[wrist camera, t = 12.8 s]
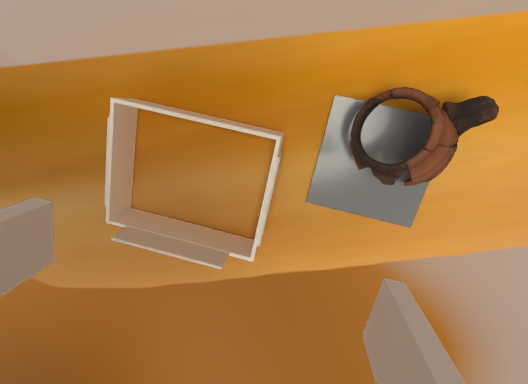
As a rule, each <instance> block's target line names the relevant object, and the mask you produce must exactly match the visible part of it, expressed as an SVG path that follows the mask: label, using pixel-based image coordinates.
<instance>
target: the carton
mask: <svg viewBox="0 0 528 384" xmlns="http://www.w3.org/2000/svg"><path fill="white" fill-rule="evenodd" d="M138 108H140V109H145V110H149V111H153V112H158V113H162V114H166V115H171V116H175V117H179V118H184V119H188V120H192V121H197V122H201V123H205V124H210V125H214V126H218V127H223V128H227V129H231V130H236V131H240V132H244V133H249V134H253V135H257V136H262V137H266V138H270V139H275V140H276V144H275V149H274V153H273V158H272V162H271V167H270V172H269V176H268V181H267V185H266V190H265V194H264V199H263V203H262V208H261V212H260V217H259V221H258V226H257V230H256V235H255V239H250V238H246V237H243V236H239V235H235V234H231V233H227V232H223V231H219V230H215V229H212V228H208V227H204V226H200V225H196V224H192V223H188V222H185V221H181V220H177V219H173V218H169V217H165V216H161V215H158V214H154V213H150V212H146V211H142V210H138V209H134V208H131V204H132V189H133V175H134V160H135V146H136V131H137V117H138ZM284 134H285V133H283V132H279V131H275V130H270V129H266V128H262V127H257V126H253V125H248V124H244V123H240V122H235V121H231V120H227V119H222V118H218V117H213V116H209V115H205V114H200V113H196V112H192V111H187V110H183V109H178V108H174V107H170V106H165V105H161V104H157V103H152V102H148V101H143V100H139V99H132V98H111V97H110V117H108V120H107V147H106V174H105V201H104V206H106V223H108V224H112V225H116V226H120V227H123V228H125V229H123V230H122V231H120V232H119V233H117V234H116V235H114V236H113V237H111V240H113V241H117V242H121V243H124V244H128V245H132V246H136V247H139V248H143V249H147V250H150V251H154V252H158V253H162V254H165V255H169V256H173V257H176V258H180V259H184V260H188V261H191V262H195V263H199V264H202V265H206V266H210V267H214V268H217V269H222V267H223V265H224V264H225V262H226V260H227V258H228V256H233V257H237V258H240V259H244V260H248V261H252V262H253V261H254V258H255V255H256V252H257V249H258V246H260V244H261V241H262V238H263V235H264V230H265V226H266V222H267V217H268V213H269V209H270V204H271V200H272V196H273V192H274V187H275V183H276V179H277V174H278V170H279V166H280V161H281V157H282V153H281V147H282V143H283V139H284Z"/></svg>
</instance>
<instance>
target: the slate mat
mask: <svg viewBox="0 0 528 384" xmlns="http://www.w3.org/2000/svg"><path fill="white" fill-rule="evenodd" d="M365 103H366V101H361V100H357V99H352V98H347V97H343V96H338V95H335V96H334V100H333V104H332V108H331V111H330V115H329V119H328V122H327V126H326V130H325V133H324V137H323V141H322V144H321V148H320V152H319V155H318V159H317V163H316V166H315V170H314V174H313V177H312V181H311V185H310V188H309V192H308V196H307V200H306V202H308V203H312V204H316V205H320V206H324V207H328V208H332V209H337V210H341V211H345V212H349V213H353V214H357V215H361V216H365V217H369V218H373V219H377V220H381V221H385V222H389V223H394V224H398V225H402V226H406V227H411V225H412V222H413V220H414V217H415V215H416V213H417V210H418V208H419V205H420V203H421V200H422V198H423V195H424V193H425V190H426V188H427V185H428V183H429V181H428V182H424V183H420V184H417V185H413V186H404V182H405V180H408V179H411V177H410V174H409V171H408V170H407V171H406V172H405V173H404V174H402V175H401V176H400V177H399V179H397V180H396V181H395V184H394V185H385V184H382V183H381V182H380V180H379V179H377V178H375V177H374V175H373V174H372V171H371V168H370V167H368V168H364V169H361V170H358V168H357V166H356V163H355V160H354V156H353V154H352V151H351V147H350V140H351V136H350V133H351V129H352V125H353V122H354V119H355V117H356V115H357V113H358V112H359V111H360V109H361V108H362V106H363V105H364V104H365ZM430 132H431V119H430V115H426V114H422V113H417V112H412V111H408V110H403V109H399V108H394V107H389V106H385V105H380V104H379V105H378V106H377V107H376V108H375V109H374V110H373V111H372V112H371V113H370V114H369V115H368V117H367V118H366V120H365V122H364V124H363V127H362V130H361V143H362V146H363V149H364V150H365V152H366V153H367V155H368V156H369V157H370V158H372V159H374V160H376V161H378V162H381V163H387V164H394V163H400V162H404V161H405V160H407V159H409V158H411V157H413V156H414V155H416V154H417V153H418V152H419V151H420V150H421V149H422V148H423V147H424V145H425V144H426V142H427V141H428V138H429V136H430Z"/></svg>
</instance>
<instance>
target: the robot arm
mask: <svg viewBox="0 0 528 384" xmlns="http://www.w3.org/2000/svg"><path fill="white" fill-rule="evenodd" d="M53 262H55V253H54V228H53V204H52V201H48V200H43V199H39V198H35V197H34V198H31V199H28V200H25V201H22V202H20V203H17V204H14V205H11V206H8V207H6V208H3V209H0V297H1V296H3V295H4V294H6V293H7V292H9V291H11V290H12V289H14V288H15V287H17V286H18V285H20V284H21V283H23V282H24V281H26V280H27V279H29V278H30V277H32V276H34V275H35V274H37V273H38V272H40V271H41V270H43V269H44V268H46V267H47V266H49V265H50V264H52V263H53ZM362 336H363V340H364V343H365V347H366V351H367V354H368V358H369V361H370V365H371V368H372V372H373V375H374V379H375V382H376V384H465V382H464V380H463V379H462V377H461V375H460V374H459V372H458V370H457V369H456V367H455V365H454V364H453V362H452V360H451V359H450V357H449V355H448V354H447V352H446V350H445V349H444V347H443V345H442V344H441V342H440V341H439V339H438V337H437V335H436V334H435V332H434V331H433V329H432V327H431V325H430V324H429V322H428V320H427V319H426V317H425V316H424V314H423V312H422V311H421V309H420V307H419V306H418V304H417V302H416V301H415V299H414V297H413V296H412V294H411V292H410V291H409V289H408V287H407V286H406V284H405V283H404V282H399V281H395V280H390V279H386V278H384V280H383V283H382V285H381V288H380V290H379V293H378V296H377V298H376V301H375V304H374V306H373V309H372V311H371V314H370V316H369V319H368V322H367V324H366V327H365V330H364V332H363V335H362Z"/></svg>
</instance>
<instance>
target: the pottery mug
mask: <svg viewBox="0 0 528 384" xmlns="http://www.w3.org/2000/svg"><path fill="white" fill-rule="evenodd" d="M393 98H394V99H410V100H413V101H416V102H418V103H419V104H421V105H422V106H423V107H424V108H425V109H426V111H427V112H428V113H429V115H430V119H431V132H430V136H429V138H428V141H427V142H426V144H425V145H424V147H423V148H422V149H421V150H420V151H419V152H418V153H417V154H416V155H414V156H413V157H411V158H409V159H407V160H405V161H404V162H400V163H394V164H387V163H381V162H378V161H376V160H374V159H372V158H370V157H369V156H368V155H367V153H366V152H365V150H364V149H363V146H362V143H361V130H362V127H363V124H364V122H365V120H366V118H367V117H368V115H369V114H370V113H371V112H372V111H373V110H374V109H375V108H376V107H377V106H378V105H379V104H380V103H382V102H384V101H387V100H389V99H393ZM439 103H440V101H439V100H437V99H436V98H434V97H432V96H430V95H427V94H425V93H424V92H422V91H420V90H417V89H413V88H408V87H402V88H394V89H392V90H388V91H385V92H383V93H381V94H379V95H377V96H376V97H374V98H371V99H369V100H368V101H367V102H366V103H365V104H364V105H363V106H362V108H361V109H360V111H359V112H358V113H357V115H356V117H355V119H354V122H353V125H352V129H351V133H350V136H351V140H350V147H351V151H352V154H353V156H354V160H355V163H356V166H357V168H358V170H361V169H364V168H368V167H370V168H371V171H372V174H373V175H374V177H375V178H377V179H379V180H380V182H381V183H382V184H385V185H394V184H395V181H396V180H397V179H399V177H400V176H401V175H402V174H404V173H405V172H406V171H407V170H408V171H409V174H410V177H411V179H408V180H405V182H404V186H413V185H417V184H420V183H424V182H428V181H430V180H432V179H434V178H435V177H436V176H438V175H439V174H440V173H441V172H442V171H443V170H444V169H445V168H446V167H447V165H448V163H449V162H450V161H451V159H452V158H453V156H454V154H455V151H456V149H457V142H458V137H459V136H460V135H461V134H463V133H464V132H465V131H467V130H468V129H470V128H473V127H476V126H479V125H481V124H484V123H487V122H489V121H492V120H494V119H495V118H496V117H497V114H498V112H499V107H498V105H497V104H496V103H495V100H494V99H492V98H490V97H488V96H480V97H476V98H472V99H468V100H466V101H463V102H460V103H451V102H444V104H443V108H442V109H440V108H439V106H438V104H439Z"/></svg>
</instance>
